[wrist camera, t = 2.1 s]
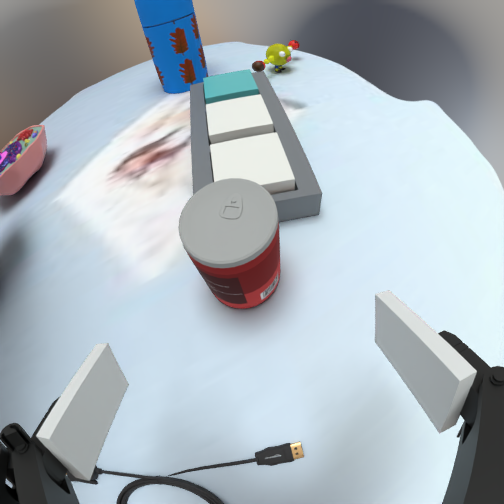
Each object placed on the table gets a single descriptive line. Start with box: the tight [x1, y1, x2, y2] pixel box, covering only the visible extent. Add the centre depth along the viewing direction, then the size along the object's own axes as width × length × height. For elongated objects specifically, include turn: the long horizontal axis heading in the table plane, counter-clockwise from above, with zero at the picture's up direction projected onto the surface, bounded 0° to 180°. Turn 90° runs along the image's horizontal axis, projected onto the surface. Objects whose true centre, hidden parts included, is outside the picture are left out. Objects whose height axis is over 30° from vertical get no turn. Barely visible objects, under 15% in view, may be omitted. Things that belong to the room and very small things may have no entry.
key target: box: [203, 69, 259, 104], centre depth 43 cm, size 8×8×4 cm
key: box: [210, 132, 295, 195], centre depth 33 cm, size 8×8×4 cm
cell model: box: [0, 125, 47, 196], centre depth 42 cm, size 17×20×11 cm
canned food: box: [179, 178, 280, 309], centre depth 26 cm, size 8×8×11 cm
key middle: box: [206, 94, 274, 145], centre depth 38 cm, size 8×8×4 cm
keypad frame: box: [190, 71, 322, 222], centre depth 40 cm, size 14×32×4 cm, turn 10°
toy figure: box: [252, 40, 299, 72], centre depth 50 cm, size 18×6×7 cm, turn 147°
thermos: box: [134, 0, 208, 94], centre depth 44 cm, size 11×11×25 cm
